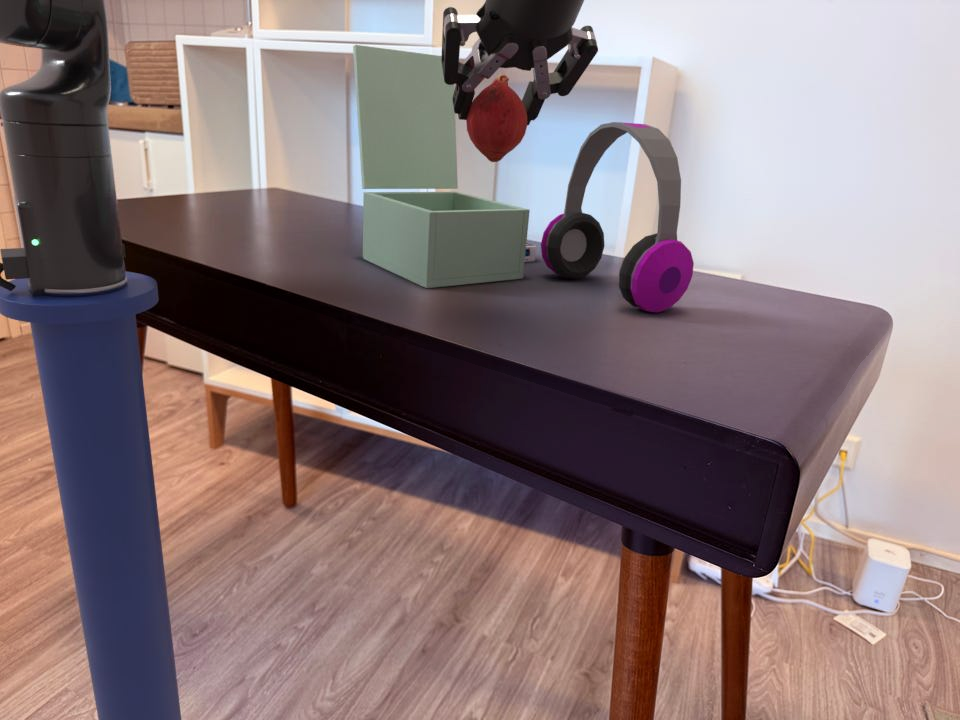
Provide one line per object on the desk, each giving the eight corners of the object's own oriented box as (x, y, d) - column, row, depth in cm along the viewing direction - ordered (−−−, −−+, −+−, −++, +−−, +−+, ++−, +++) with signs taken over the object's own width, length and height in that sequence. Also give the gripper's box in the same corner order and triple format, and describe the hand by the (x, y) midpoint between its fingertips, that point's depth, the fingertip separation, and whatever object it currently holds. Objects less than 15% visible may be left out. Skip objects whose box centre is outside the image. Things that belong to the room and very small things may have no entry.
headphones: (532, 274, 89) (548, 116, 82) (584, 271, 93) (604, 121, 86) (634, 319, 72) (665, 125, 65) (693, 313, 76) (728, 130, 69)
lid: (453, 57, 92) (436, 63, 95) (355, 44, 84) (340, 51, 87) (457, 188, 96) (441, 189, 99) (364, 188, 87) (350, 190, 91)
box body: (523, 278, 87) (529, 209, 84) (426, 288, 78) (429, 212, 75) (452, 252, 99) (456, 191, 96) (362, 258, 91) (363, 192, 88)
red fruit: (506, 166, 61) (514, 72, 59) (453, 159, 64) (458, 69, 61) (532, 164, 66) (541, 78, 63) (482, 158, 69) (488, 75, 66)
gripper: (464, -26, 47) (424, 140, 62) (645, 1, 51) (567, 151, 66) (452, -95, 50) (417, 80, 65) (625, -64, 54) (554, 94, 69)
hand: (492, 115), depth 65 cm, fingers closed on red fruit, 5 cm apart
